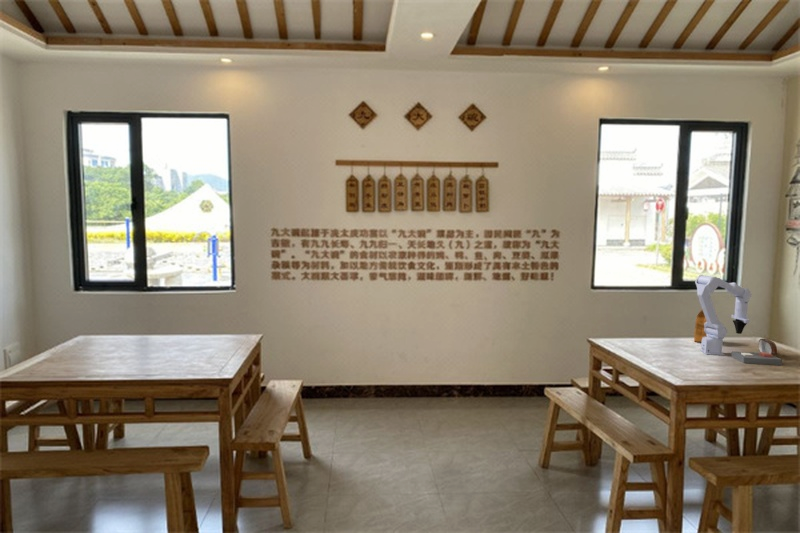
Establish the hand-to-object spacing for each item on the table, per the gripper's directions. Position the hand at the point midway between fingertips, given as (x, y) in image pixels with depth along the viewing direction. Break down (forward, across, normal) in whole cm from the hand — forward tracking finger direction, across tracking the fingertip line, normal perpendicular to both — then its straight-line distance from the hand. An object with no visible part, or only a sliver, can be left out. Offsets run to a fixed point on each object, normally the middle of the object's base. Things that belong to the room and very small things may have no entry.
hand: (738, 333), depth 283 cm
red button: (+10, -19, -4) cm, 21 cm away
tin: (+11, -4, -13) cm, 17 cm away
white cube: (+10, -18, +4) cm, 22 cm away
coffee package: (+11, +20, +8) cm, 24 cm away
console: (+10, -18, 0) cm, 21 cm away
